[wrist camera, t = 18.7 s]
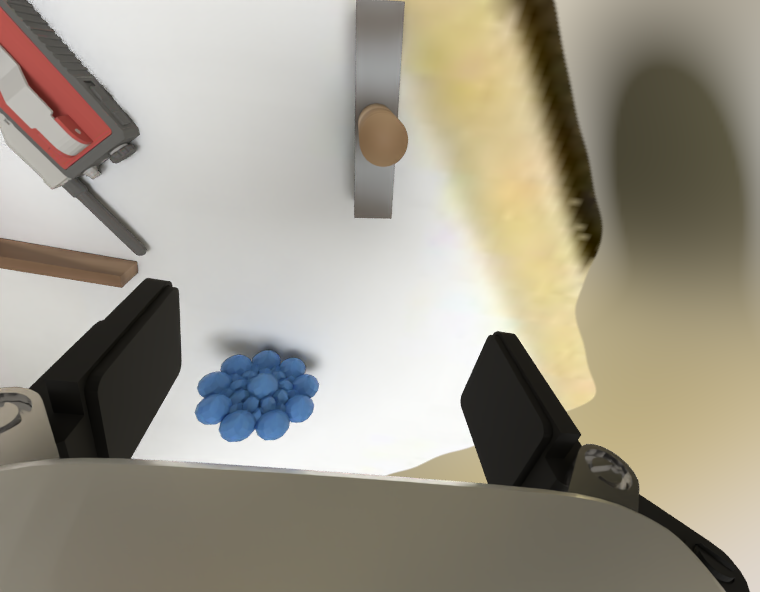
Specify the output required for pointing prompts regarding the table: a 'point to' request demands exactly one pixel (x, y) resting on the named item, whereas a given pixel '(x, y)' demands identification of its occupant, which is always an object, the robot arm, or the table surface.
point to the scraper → (377, 105)
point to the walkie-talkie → (58, 111)
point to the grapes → (256, 396)
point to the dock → (65, 263)
